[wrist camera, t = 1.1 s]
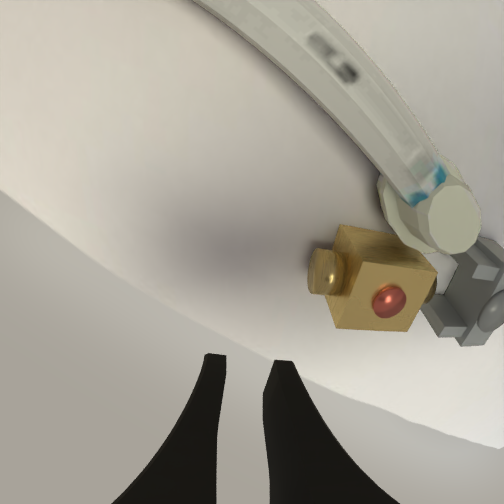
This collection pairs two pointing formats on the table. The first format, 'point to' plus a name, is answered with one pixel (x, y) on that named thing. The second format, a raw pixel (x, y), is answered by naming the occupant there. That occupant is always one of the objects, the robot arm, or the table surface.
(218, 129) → the table surface
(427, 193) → the toothbrush head
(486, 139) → the table surface
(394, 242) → the valve
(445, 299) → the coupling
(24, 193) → the table surface
